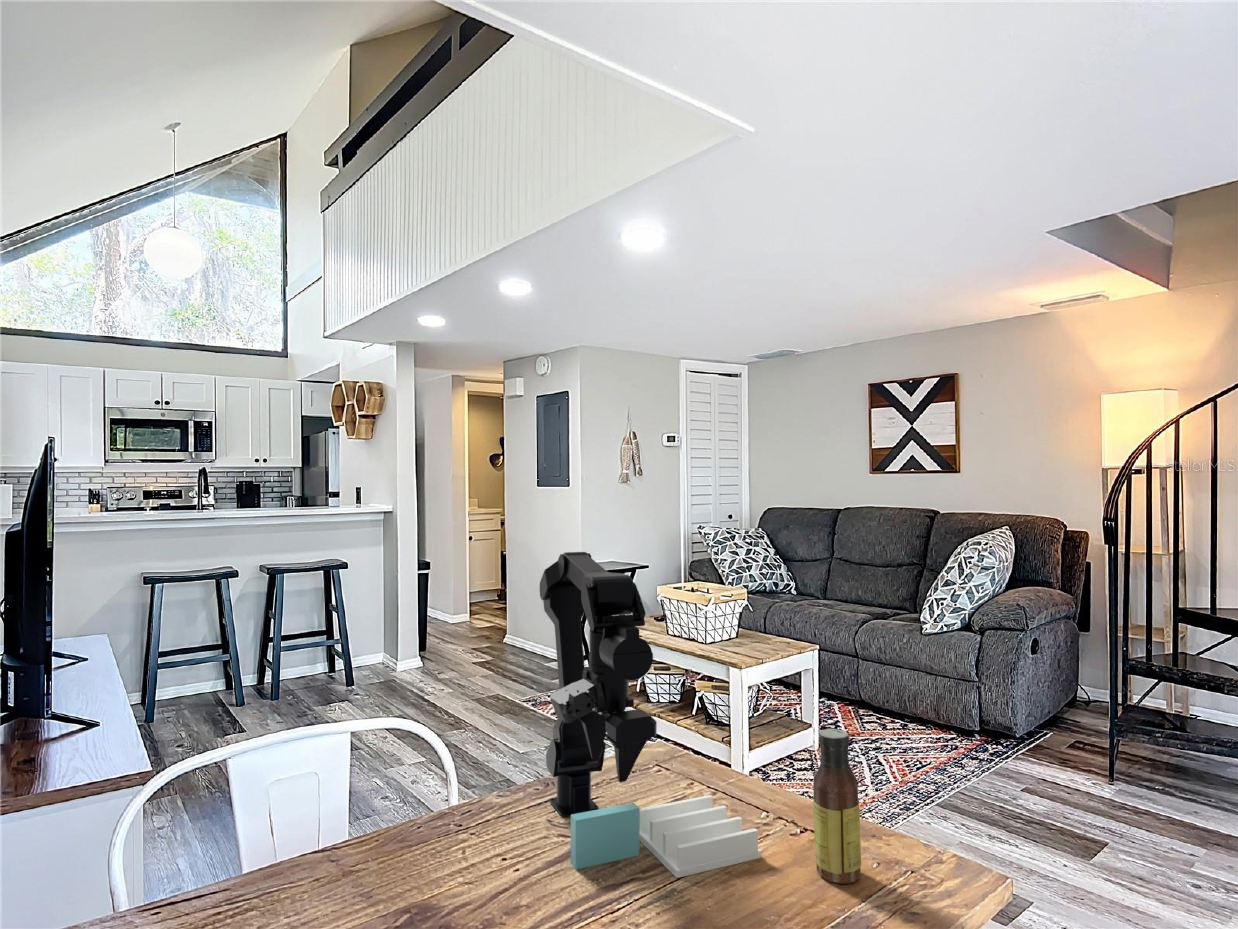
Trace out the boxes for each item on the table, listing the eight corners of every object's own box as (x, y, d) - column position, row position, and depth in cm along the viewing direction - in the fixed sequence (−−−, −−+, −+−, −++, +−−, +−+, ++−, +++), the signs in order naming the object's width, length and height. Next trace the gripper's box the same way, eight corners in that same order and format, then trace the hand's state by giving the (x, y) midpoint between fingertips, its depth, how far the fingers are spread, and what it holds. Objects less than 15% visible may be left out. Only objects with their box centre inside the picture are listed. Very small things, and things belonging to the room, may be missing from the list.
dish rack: (634, 835, 119) (634, 809, 119) (712, 819, 125) (712, 794, 125) (676, 878, 107) (676, 849, 107) (761, 857, 112) (761, 830, 112)
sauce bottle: (856, 864, 110) (856, 726, 111) (865, 888, 104) (866, 741, 104) (809, 862, 111) (810, 724, 111) (816, 885, 105) (817, 739, 105)
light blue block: (570, 863, 111) (570, 814, 111) (633, 849, 115) (633, 802, 115) (575, 870, 109) (575, 820, 109) (639, 856, 113) (639, 808, 113)
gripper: (534, 653, 117) (533, 756, 117) (583, 685, 100) (582, 805, 100) (601, 646, 122) (600, 745, 121) (658, 675, 105) (658, 790, 105)
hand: (608, 769), depth 112 cm, fingers open, 9 cm apart
